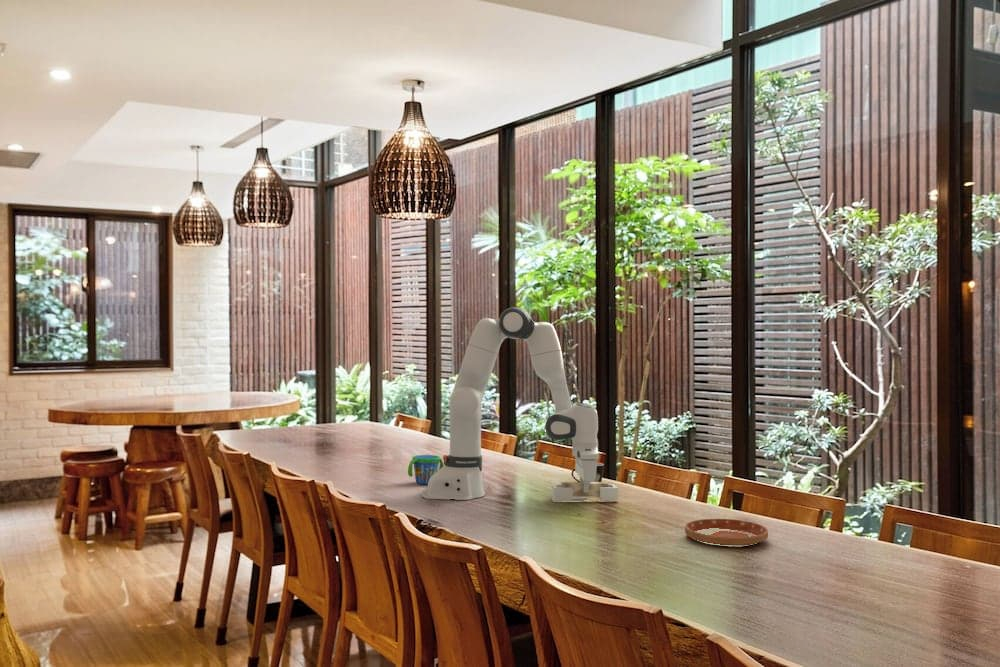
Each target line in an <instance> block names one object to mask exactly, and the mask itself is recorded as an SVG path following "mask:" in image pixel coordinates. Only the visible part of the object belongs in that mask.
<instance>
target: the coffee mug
mask: <svg viewBox="0 0 1000 667" xmlns="http://www.w3.org/2000/svg"><path fill="white" fill-rule="evenodd" d="M604 466H605V464H604V463H602V462H597V469H596V479H595V482H603V472H604ZM574 473H575V468H573V469H572V471H571V476H572V478H573V479H574V480H575V482H580V479H577V478H576V477H575V476H574Z"/></svg>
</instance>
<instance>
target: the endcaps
mask: <svg viewBox="0 0 1000 667" xmlns="http://www.w3.org/2000/svg"><path fill="white" fill-rule="evenodd" d="M572 493H573V488H572V487H561V483H560V484H559V483H558V484H556V483H555V484H554V483H553V484H551V500H552V499H553V500H554V501H553V500H552V501H553V503H554V502H562V501H584V500H587V498H584V497H572ZM600 500H618V501H619V487H618V486H617V485H616V484H614V483H609V487H600Z"/></svg>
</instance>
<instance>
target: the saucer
mask: <svg viewBox="0 0 1000 667" xmlns="http://www.w3.org/2000/svg"><path fill="white" fill-rule="evenodd" d="M709 528H719V529H730V530H738V531H743V532H748V533H752V534H754V535H756V536H751V537H749V536H748V535H747V534H743V533H738V532H731V531H729V532H728V531H719V532H716V533H713V534H711V535H705V534H701V533H697V532H695V531H698V530H702V529H709ZM684 532H685V535H686V536H688V537H689V538H691V539H692V538H694V539H696V540H699V541H702V542H707V543H713V544H720V545H750V544H755V543H759V542H760V543H762V542H764V541H766V540H767V539H768V537H769V530H768V528H767V527H765V526H764V525H762V524H759V523H755V522H751V521H746V520H741V519H733V518H732V519H729V518H704V519H703V518H702V519H696V520H693V521H692V520H691V521H690V522H689V521H688V522H687V523H686V524H685V525H684ZM760 543H759V544H760Z"/></svg>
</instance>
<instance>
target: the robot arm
mask: <svg viewBox="0 0 1000 667" xmlns="http://www.w3.org/2000/svg"><path fill="white" fill-rule="evenodd" d="M505 339H513V340H519V339H520V340H522V339H523V340H524V341H525V342H526V343H527V346H528V350H529V355H530V360H531V361H530V362H531V365H532V367H533V369H534V372H535V375H537V377H539V378H540V379H541V380H543V381H544V382H545V383H546V384H547V386H548V387H549V389H550V392H551V398H552V401H553V405H554V410H555V412H554V414H551V415H550V416H549V417H548V418H547V420H546V422H545V425H544V426H545V427H544V428H545V432H546V435H547V436H548V437H549V438H551V439H552V440H555V441H564V440H569V439H570V440H572V443H571V444H572V446H571V449H572V450H571V451H572V454H571V455H572V456H573V457H575V462H574V463H575V464H574V466H575V467H574V469H575V471H574V473H576V474H577V475H578V476H579V481H580V482H583V491H584V492H589V484H590V482H595V479H596V469H597V463H598V460H599V459H600V458H599V457H600V456H599V439H598V432H599V417H598V411H597V408H596V407H595V406H594V405H592V404H587V403H580V402H579V403H574V405H573V401H572V398H571V394H570V390H569V387H568V386H569V385H568V383H567V378H566V372H565V364H564V357H563V352H562V348H561V347H562V346H561V344H560V339H559V336H558V334H557V331H556V328H555V327H554V325H553V324H552V323H551V322H548V321H537V322H535V321H534V320H533V318H532V316H531V314H530V313H529V312H528V311H527V310H526V309H524V308H523V307H515V306H512V307H509V308H508V307H507V309H505V310H503V312H501V313H500V316H499V318H498V319H494V318H490V317H485V318H481V319H480V320H479V321H478V323H477V324H476V326H475V328H474V329H473V332H472V333H471V335H470V338H469V341H468V343H467V347H466V351H465V354H464V356H463V359H462V362H461V365H460V368H459V371H458V374H457V377H456V381H455V384H454V387H453V390H452V392H451V395H450V397H449V454H443V456H442V461H443V465H444V466H443V467H442V468H441V469H439V468H438V471H437V472H435V473H434V474H433V475H432V476H431V477H430V479H429V482H428V485H427V488H425V489H423V490H422V491H421V493H420V494H421V497H422V498H423V497H424V499H427V500H429V499H430V500H450V499H455V500H454V501H458V500H459V501H469V500H470V501H471V500H472V499H478V498H482V497H484V496H486V492H485V489H484V483H483V477H482V471H483V456H482V402H483V399H484V395H485V393H486V390H487V387H488V384H489V381H490V379H491V375H492V372H493V371H494V370H493V369H494V366H495V364H496V360H497V358H498V355H499V352H500V348H501V345H502V343H503V342H504V341H505Z"/></svg>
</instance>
